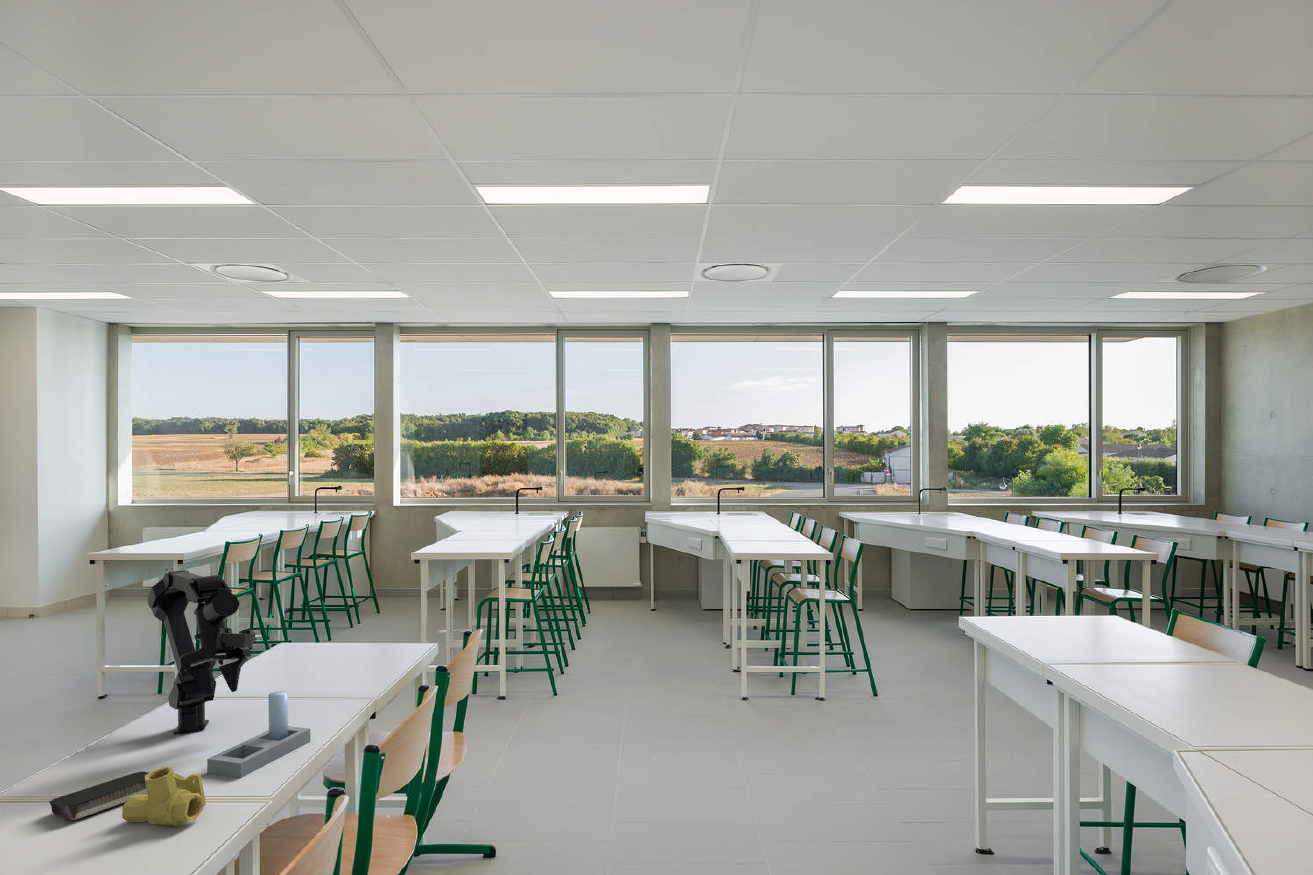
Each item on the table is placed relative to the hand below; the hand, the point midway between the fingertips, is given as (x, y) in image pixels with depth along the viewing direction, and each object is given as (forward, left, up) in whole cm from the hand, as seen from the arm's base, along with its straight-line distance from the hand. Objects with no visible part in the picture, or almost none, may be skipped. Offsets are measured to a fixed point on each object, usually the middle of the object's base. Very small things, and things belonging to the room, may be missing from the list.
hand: (222, 692), depth 173 cm
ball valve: (+35, -2, -13) cm, 37 cm away
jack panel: (+10, +9, -12) cm, 18 cm away
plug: (+6, +12, -12) cm, 18 cm away
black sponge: (+23, -16, -13) cm, 31 cm away
